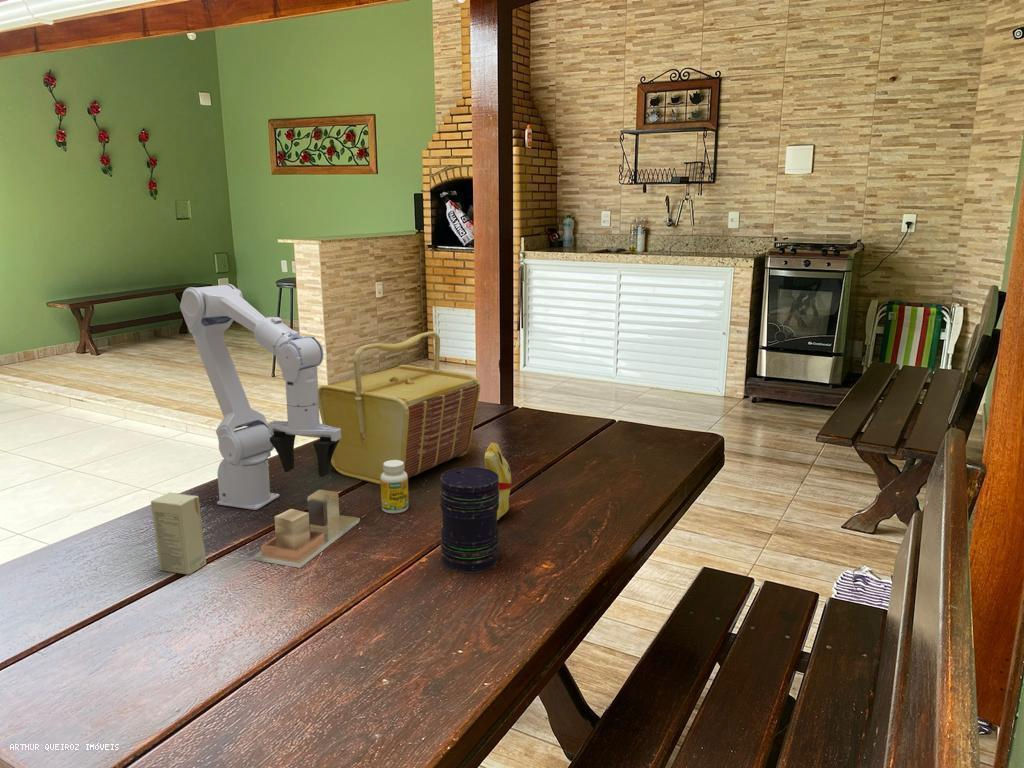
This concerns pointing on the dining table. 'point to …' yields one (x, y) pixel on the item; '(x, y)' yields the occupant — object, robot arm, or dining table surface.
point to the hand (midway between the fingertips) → (306, 472)
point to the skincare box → (178, 533)
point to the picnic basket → (399, 415)
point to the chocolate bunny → (502, 468)
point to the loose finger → (292, 529)
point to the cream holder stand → (312, 532)
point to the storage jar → (469, 519)
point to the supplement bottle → (394, 487)
